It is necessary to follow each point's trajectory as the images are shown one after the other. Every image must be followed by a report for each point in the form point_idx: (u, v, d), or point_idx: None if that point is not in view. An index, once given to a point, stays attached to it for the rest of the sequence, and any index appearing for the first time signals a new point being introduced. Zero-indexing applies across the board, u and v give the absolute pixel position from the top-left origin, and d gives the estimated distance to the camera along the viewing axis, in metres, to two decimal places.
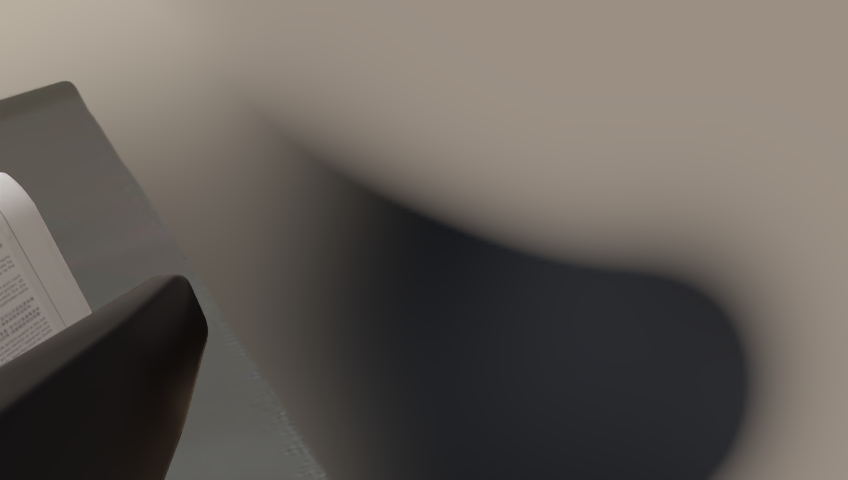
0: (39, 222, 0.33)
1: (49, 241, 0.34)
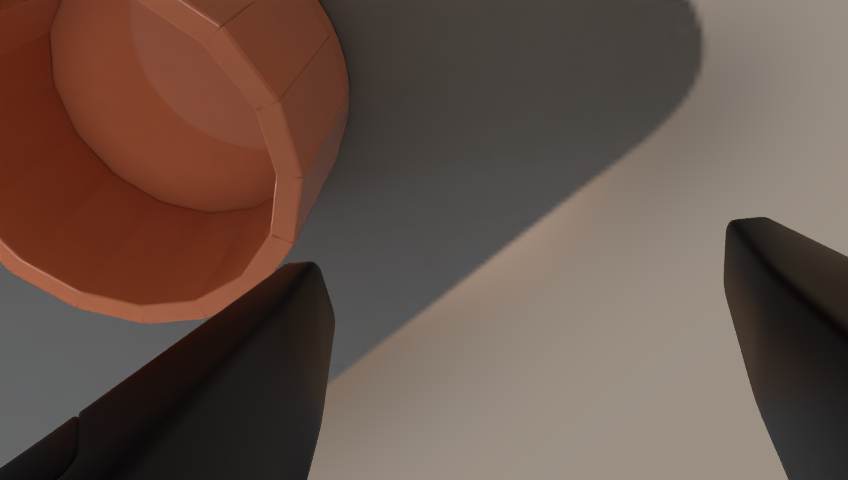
0: None
1: None
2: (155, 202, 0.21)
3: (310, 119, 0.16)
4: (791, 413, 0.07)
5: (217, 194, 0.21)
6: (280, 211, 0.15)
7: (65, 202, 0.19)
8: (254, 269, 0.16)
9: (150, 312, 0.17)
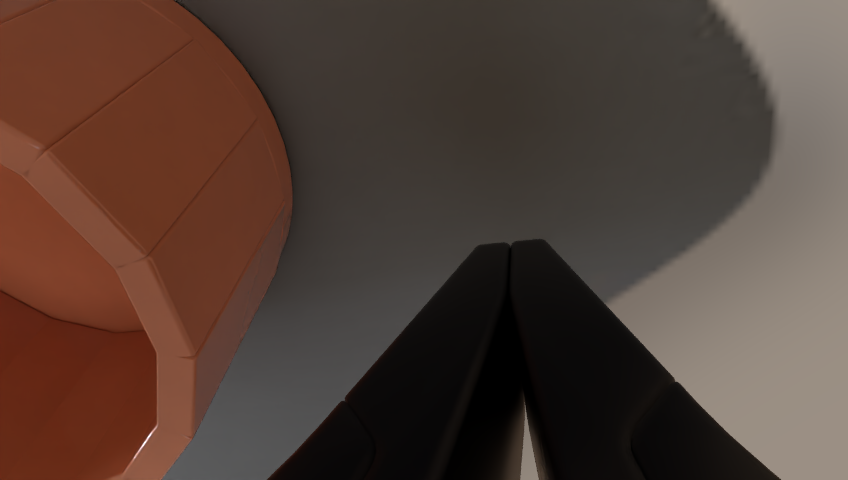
0: None
1: None
2: (43, 320, 0.16)
3: (215, 258, 0.11)
4: (531, 426, 0.07)
5: (124, 310, 0.16)
6: (167, 399, 0.10)
7: None
8: (139, 466, 0.11)
9: None
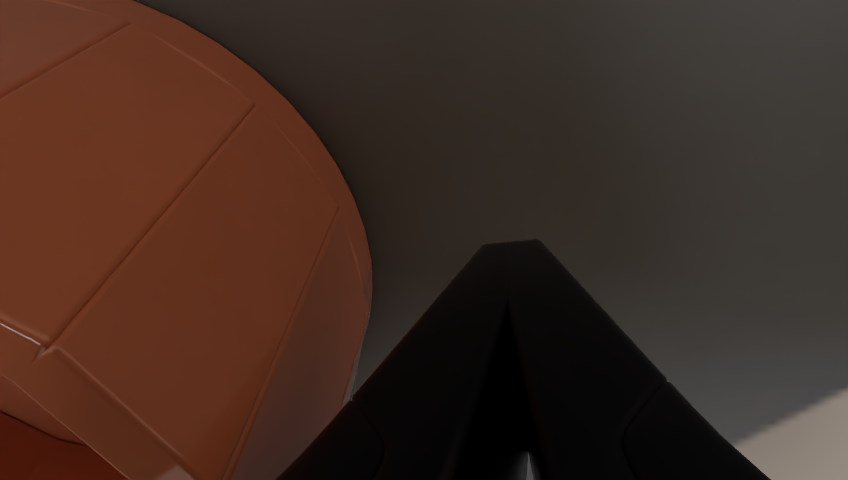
0: None
1: None
2: (47, 443, 0.13)
3: (300, 439, 0.07)
4: (525, 426, 0.07)
5: None
6: None
7: None
8: None
9: None
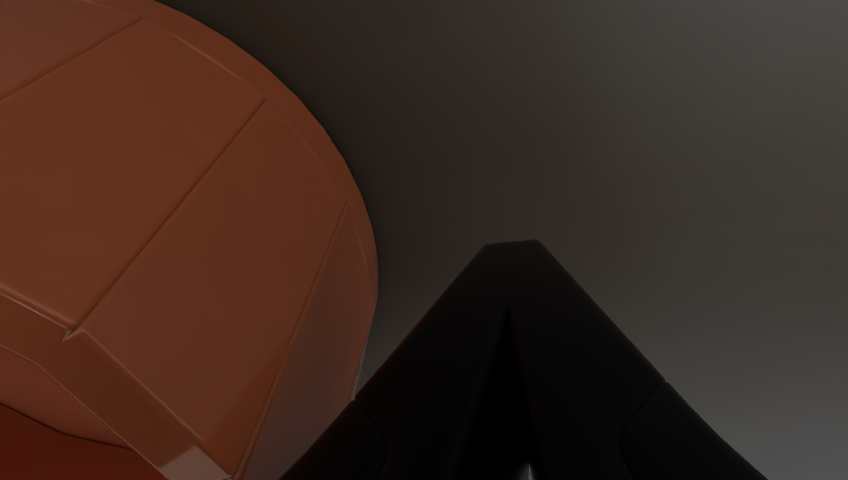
0: None
1: None
2: (53, 438, 0.13)
3: (313, 428, 0.07)
4: (524, 426, 0.07)
5: None
6: None
7: None
8: None
9: None
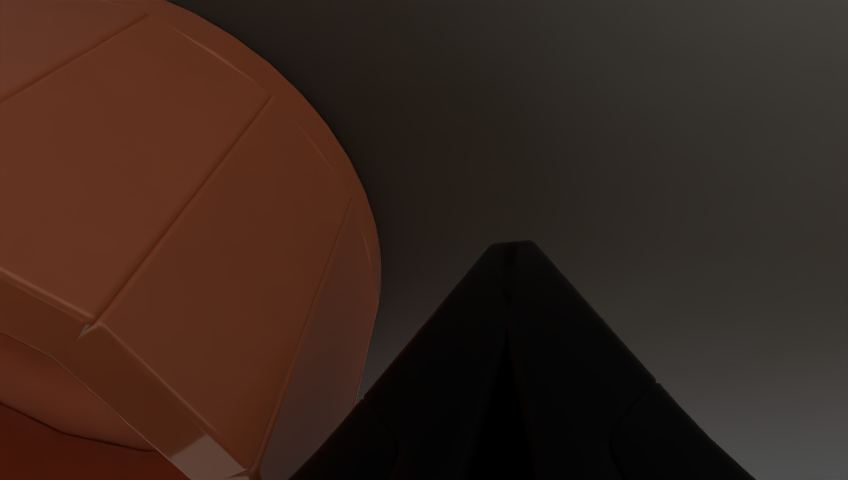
0: None
1: None
2: (53, 437, 0.13)
3: (323, 423, 0.07)
4: None
5: None
6: None
7: None
8: None
9: None
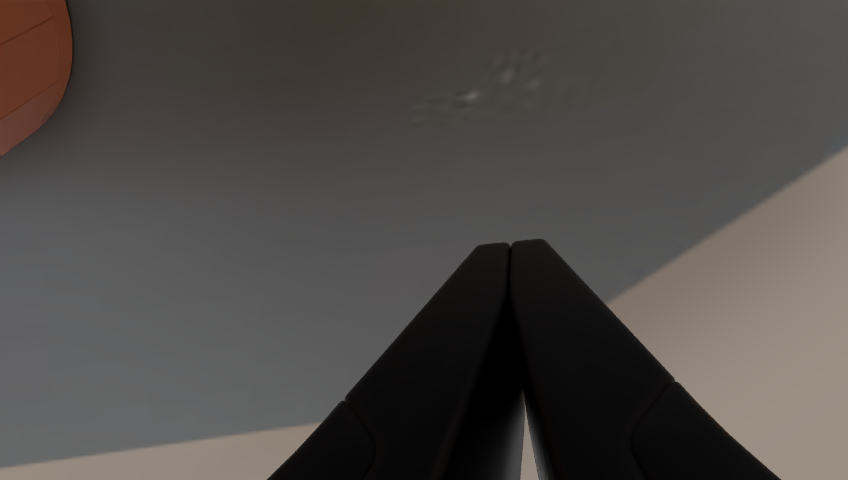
0: None
1: None
2: None
3: None
4: (531, 426, 0.07)
5: None
6: None
7: None
8: None
9: None
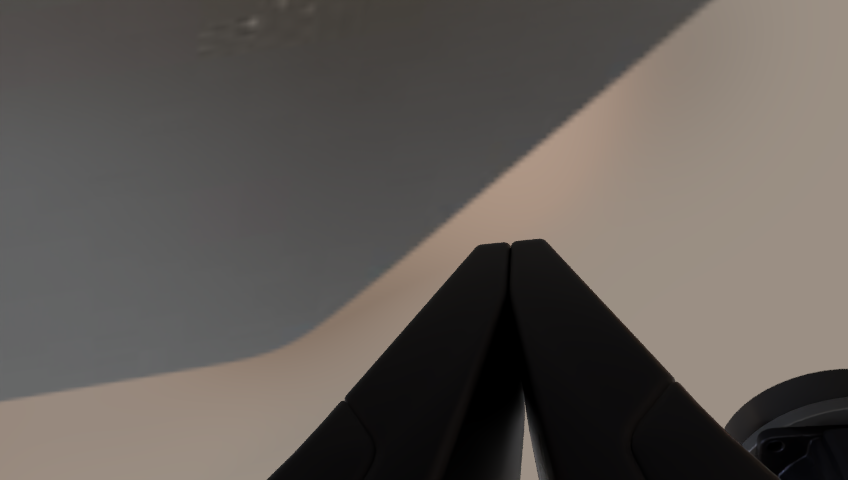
0: None
1: None
2: None
3: None
4: (531, 426, 0.07)
5: None
6: None
7: None
8: None
9: None
